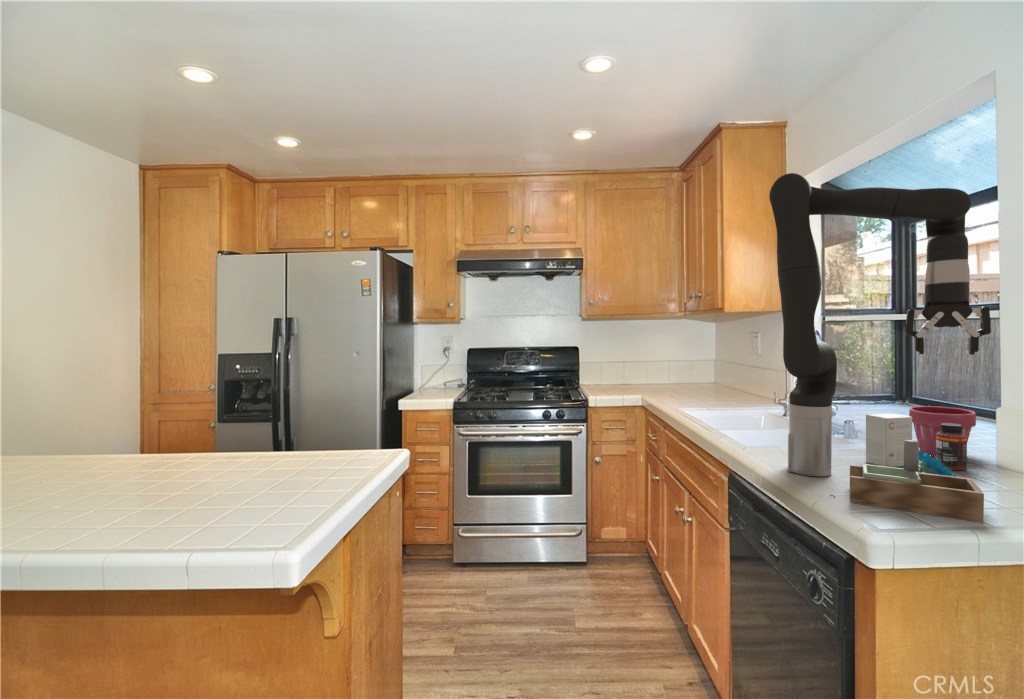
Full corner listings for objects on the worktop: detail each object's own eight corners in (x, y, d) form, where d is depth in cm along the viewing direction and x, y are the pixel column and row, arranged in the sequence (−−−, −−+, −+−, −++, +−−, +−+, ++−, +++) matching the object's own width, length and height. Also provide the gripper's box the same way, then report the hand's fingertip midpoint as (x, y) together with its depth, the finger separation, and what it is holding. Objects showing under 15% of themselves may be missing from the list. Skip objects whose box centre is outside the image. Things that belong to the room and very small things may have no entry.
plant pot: (934, 461, 133) (935, 414, 132) (896, 448, 147) (897, 406, 146) (990, 461, 132) (991, 413, 132) (946, 448, 146) (947, 405, 146)
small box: (890, 459, 135) (891, 412, 134) (912, 466, 128) (913, 416, 128) (864, 461, 133) (865, 414, 133) (885, 468, 127) (886, 418, 127)
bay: (850, 502, 103) (850, 476, 103) (849, 488, 112) (850, 464, 112) (983, 522, 91) (984, 493, 91) (970, 504, 100) (971, 478, 100)
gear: (973, 484, 108) (931, 450, 111) (950, 502, 109) (910, 467, 112) (947, 477, 118) (910, 445, 121) (926, 493, 119) (890, 462, 122)
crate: (863, 496, 103) (864, 440, 102) (862, 486, 109) (863, 433, 109) (920, 504, 97) (921, 445, 97) (915, 493, 104) (916, 438, 104)
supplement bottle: (963, 466, 127) (964, 423, 127) (969, 472, 122) (970, 427, 122) (933, 463, 130) (934, 421, 130) (938, 469, 125) (938, 425, 125)
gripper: (907, 283, 111) (906, 354, 111) (994, 278, 103) (993, 355, 103) (904, 285, 117) (904, 353, 118) (986, 280, 109) (985, 353, 109)
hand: (945, 354), depth 110 cm, fingers open, 8 cm apart
